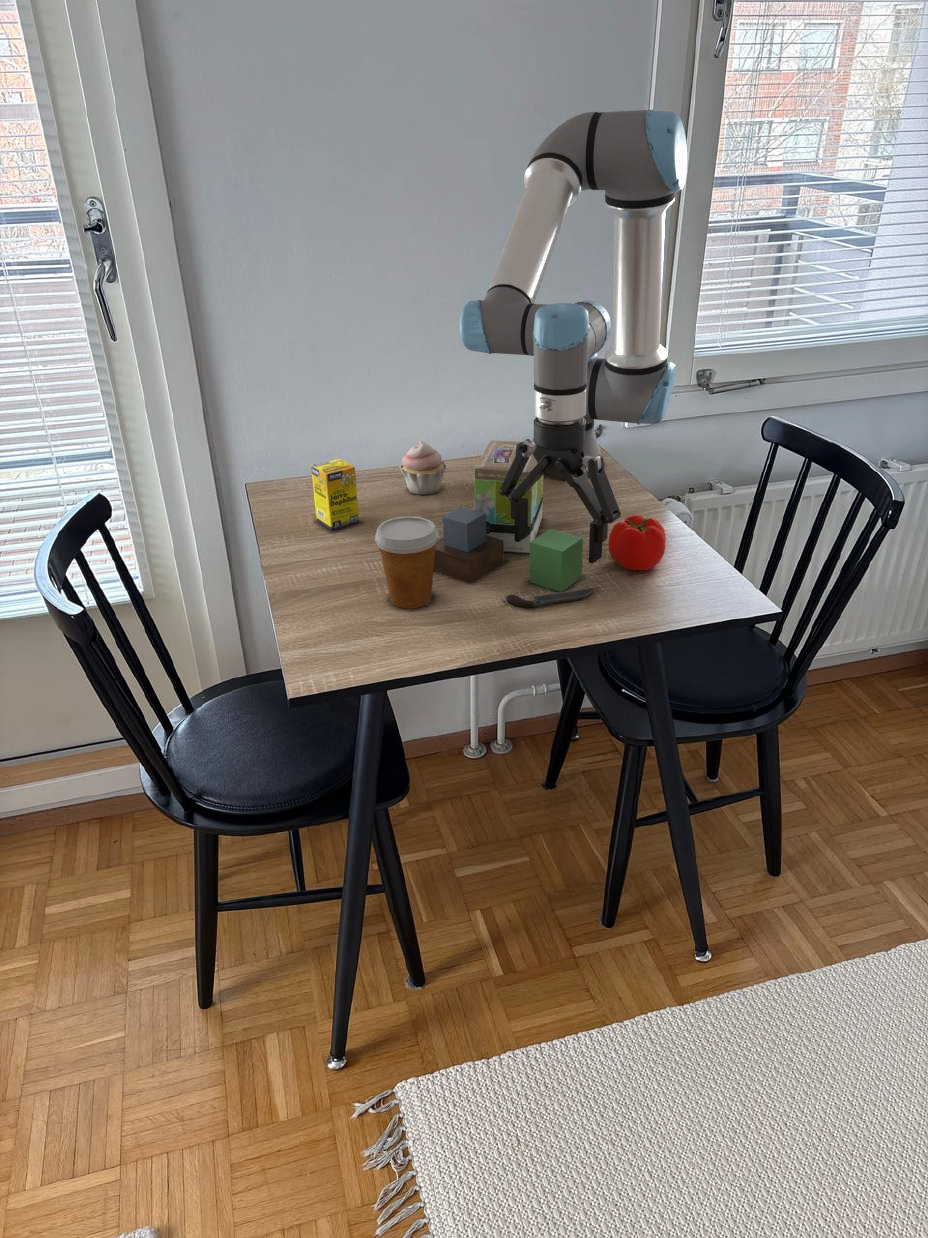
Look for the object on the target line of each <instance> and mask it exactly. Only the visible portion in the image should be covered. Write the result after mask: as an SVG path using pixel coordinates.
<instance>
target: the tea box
mask: <svg viewBox="0 0 928 1238" xmlns="http://www.w3.org/2000/svg"><path fill="white" fill-rule="evenodd" d="M520 442H521V441H515V440H513V441H512V440H495V439H494V440H493V439H492V440H489V442H488V443H487V445H486V447H485V449H484V451H483V453H482V454H481V457H480V458H479V460H478V461H477V464H476V465H475V467H474V510H475V511H479V512H483V513H486V535H487V536H491V537H494V538H497V539H501V540H503V544H504V553H505V552H507V553H522V554H523V553H524V554H530V542H531V541H533V540H534V539H536V538H537V537H536V536H537V534H538V532H539V528H540V525H541V521H542V519H543V504H544V503H543V500H544V476H543V475H542V476H541V477H540V479H539V480H538V481H537V482H536V483H535V484H534V485H533V486H532V487H531V488H530V489H529V490H528V491H527V492H526V494H525V495H524V496H523V497H522V499H523V498H527V499H528V536H527V537H526V538H524V539H523V540H521V541H520V542H516V541H515V529H514V520H513V519H512V518H511V502H510V500H509V498H508V497H507V496H505V495H504V496H502V495H501V494H500V493H499V490H500V488H501V486H502V484H503V482H504V479H505V477H506V475H507V473H508V471H509V469H510V467H511V465H512V462H513V460H514V458H515V455H516V446H517V444H519V443H520ZM531 442H532V441H531ZM532 444H535V443H534V442H532ZM537 464H538V463H537V461H536V459H535V457H534V456H533V454H532V455H531V456H530V457H529V460H528V462H527V464H526V466H525V468H524V470H523V472H522V474H521V476H520V478H519V480H518V482H517V484H516V486H515V489H516V488H517V487H518V486H519V485H520V483H521V482H522V481H523V480H524V479H525V478H526V477H527V476H528V475H529V474H530V472H531V470H532V469H533V468H534V467H535V466H536V465H537Z"/></svg>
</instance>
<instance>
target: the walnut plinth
mask: <svg viewBox="0 0 928 1238" xmlns="http://www.w3.org/2000/svg"><path fill="white" fill-rule="evenodd" d="M504 553H505V551H504V544H503V540H501V539H497V538H494V537H491V536H487V535H486V542H484V543H483V544H481V545H480V546H478V547H476V548H475V549H473V550H471V551H470V552H465V551H462V550H458V549H455V548H452V547H449V546H445V545H444V541H443V537H441V538H438V539H437V542H436V545H435V557H434V570H433V572H437V573H439V574H442V575H446V576H449V577H453V578H455V579H458V580H462V581H464V582H468V583H471V584H472V583H474V582H475V581H476V580H478V579H479V578H481V577H482V576H484V575H486V574H488V573H489V572H490V571H492V570H494V569H495V568H497V567H499V566H500V565H501V564H503V563H505V562H504V561H505V559H504V558H505V557H504V556H505V555H504Z"/></svg>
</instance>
